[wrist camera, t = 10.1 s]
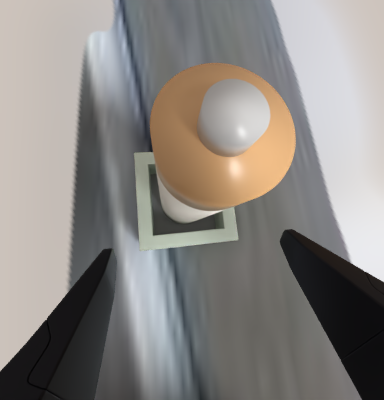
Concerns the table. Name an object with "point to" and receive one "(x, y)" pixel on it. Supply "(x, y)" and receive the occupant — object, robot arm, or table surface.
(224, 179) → the cell
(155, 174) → the frame
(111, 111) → the table surface
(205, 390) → the table surface
